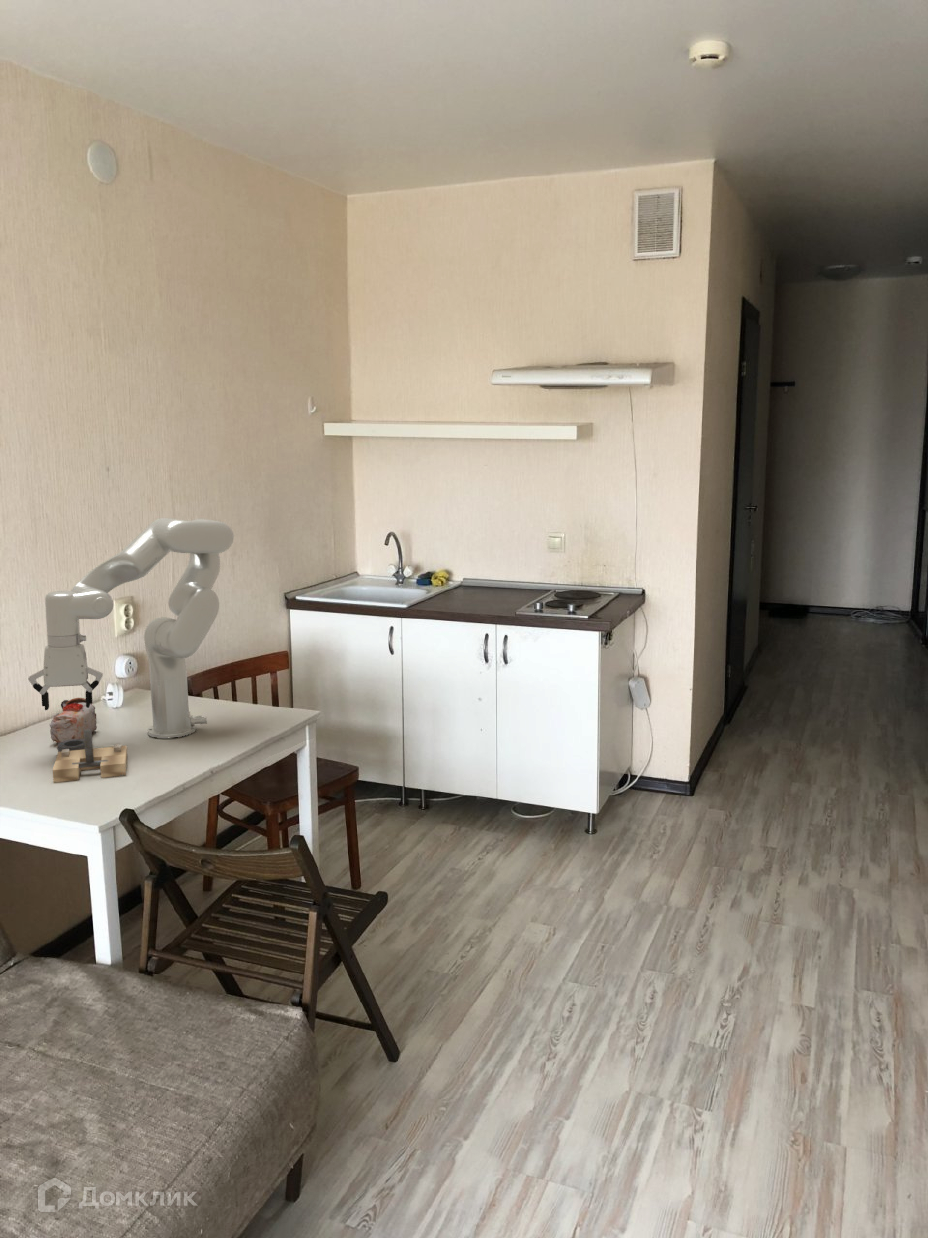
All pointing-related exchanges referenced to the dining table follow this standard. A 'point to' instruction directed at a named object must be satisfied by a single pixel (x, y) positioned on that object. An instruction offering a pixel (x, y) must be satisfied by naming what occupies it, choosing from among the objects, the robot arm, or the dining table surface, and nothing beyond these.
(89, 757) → the toggle switch panel
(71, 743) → the faceted grey ring
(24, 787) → the dining table surface
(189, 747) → the dining table surface
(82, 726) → the food item
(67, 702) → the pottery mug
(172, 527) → the robot arm
